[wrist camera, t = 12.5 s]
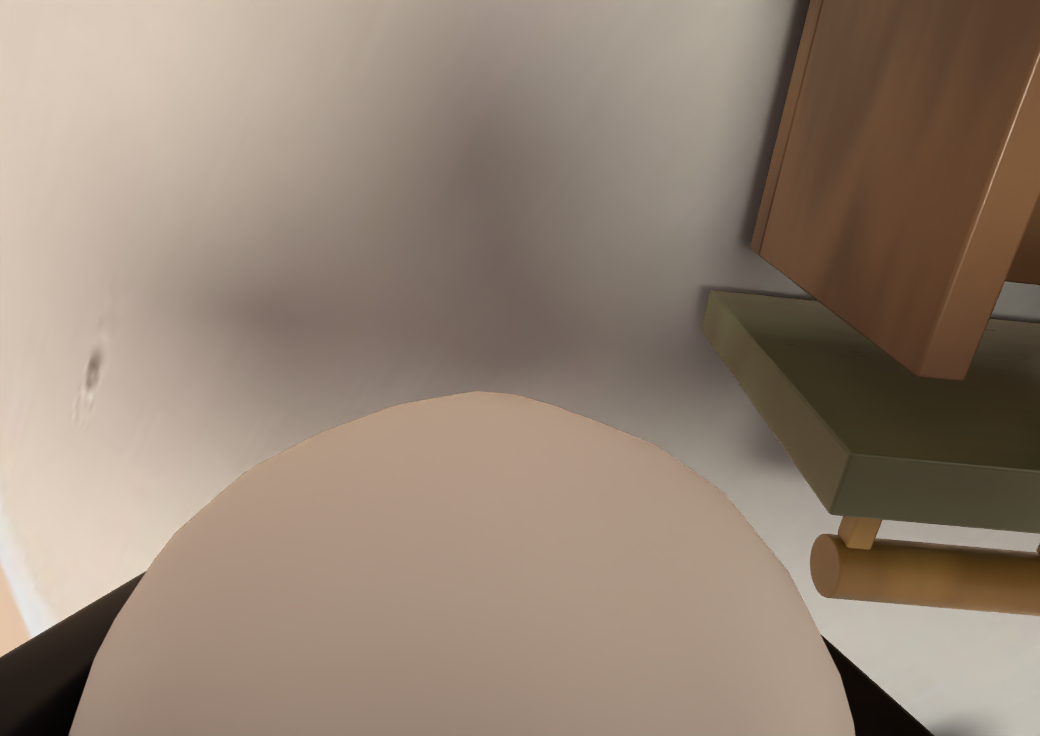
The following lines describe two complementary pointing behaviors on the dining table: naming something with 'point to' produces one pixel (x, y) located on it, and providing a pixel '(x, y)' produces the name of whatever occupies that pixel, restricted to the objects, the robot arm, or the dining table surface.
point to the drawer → (904, 294)
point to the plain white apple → (466, 594)
